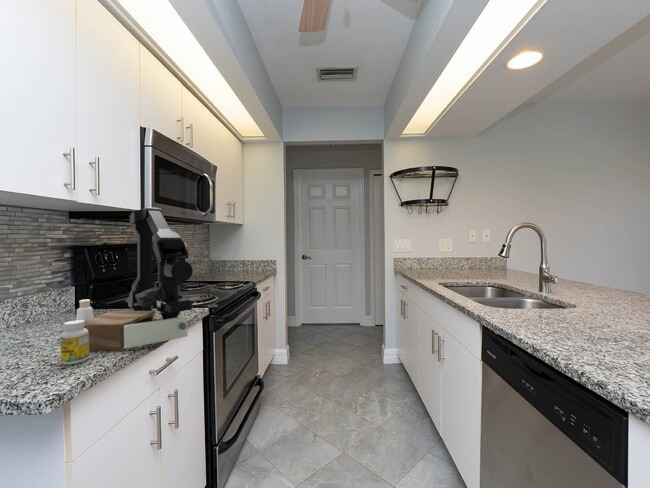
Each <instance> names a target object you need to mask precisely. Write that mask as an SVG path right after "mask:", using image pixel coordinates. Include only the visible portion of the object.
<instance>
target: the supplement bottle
mask: <svg viewBox="0 0 650 488" xmlns="http://www.w3.org/2000/svg"><path fill="white" fill-rule="evenodd" d="M84 326H85V321H84V320H76V319H75V320H71V321H66V322H64V323H63V329H64V331H62V333H61V334H60V337H59V338H60V363H62V365H66V366H68V365H69V366H70V365H75V364H79V363H83V362H86V361H87V360H89V357H90V351H89V332H88V330H87V329H86V328H84Z"/></svg>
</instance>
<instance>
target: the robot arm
mask: <svg viewBox="0 0 650 488" xmlns="http://www.w3.org/2000/svg"><path fill="white" fill-rule="evenodd" d="M129 223H130V225H131V229H132V230H133V232H134V234H135V235H136V236H137V238H136V239H137V242H136V245H137V247H136V249H137V251H136V254H137V255H136V257H137V264H136V265H137V267H136V268H137V270H136V271H137V276H136V279H135V280H134V281H133V283H132V284H131V290H130V292H129V295H128V298H127V307H129V308H130V309H133V311H154V310H153V306H154V309H155V310H157V311H158V312H159V313H160V315H161V317H162V320H163V319H170V318H176V317H179V315H180V313H181V312H186V311H191V310H194V309H193V306H194V302H193V301H191V299H187V298H185V297H184V298H183V295H182V294H180V286H183V282H186V281H188V280H190V278H191V277H192V275H193V272H194V271H193V266H192V265H191V264H190V263H189V262H188V261H186V260H188V259H189V252H188V249H187V246H186V244H185V241H184V240H183V238H182V237H181V236H180V235H179V233H177V232H175V231H173V230H171V228H170V226H169V224H168V223H167V221H166V219H165V217H164V216H163V211H162V208H159V207H150V206H146V207H143V208H142V209H138V210H133V211H132V212H131V213H130V216H129ZM153 237H154V241H153ZM153 251H154V255H155V256H156V259H157V262H158V263H157V268H158V269H157V281H155V279H154V278H153ZM155 305H156V306H155ZM157 320H158V319H157V318H154V321H157Z"/></svg>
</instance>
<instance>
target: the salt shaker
mask: <svg viewBox="0 0 650 488" xmlns="http://www.w3.org/2000/svg"><path fill="white" fill-rule="evenodd" d="M78 301H79V302H78V303H79V308H77V310H76V318H75V320H86V319H89V318H92V317H95V316H94V309H93V307H92V306H91V299H88V298H87V299H86V298H85V299H81V300H78Z"/></svg>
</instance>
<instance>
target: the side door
mask: <svg viewBox="0 0 650 488" xmlns="http://www.w3.org/2000/svg"><path fill="white" fill-rule="evenodd" d="M185 337H188V315H184V316H177V317H176V318H170V319H163V318H162V319H159V320H158V319H157V320H156V321H150V322H144V323H137V324H131V325H125V326H124V350H126V349H129V348H136V347H140V346H145V345H150V344H155V343H160V342H161V343H162V342H166V341H170V340H176V339H181V338H185Z"/></svg>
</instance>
